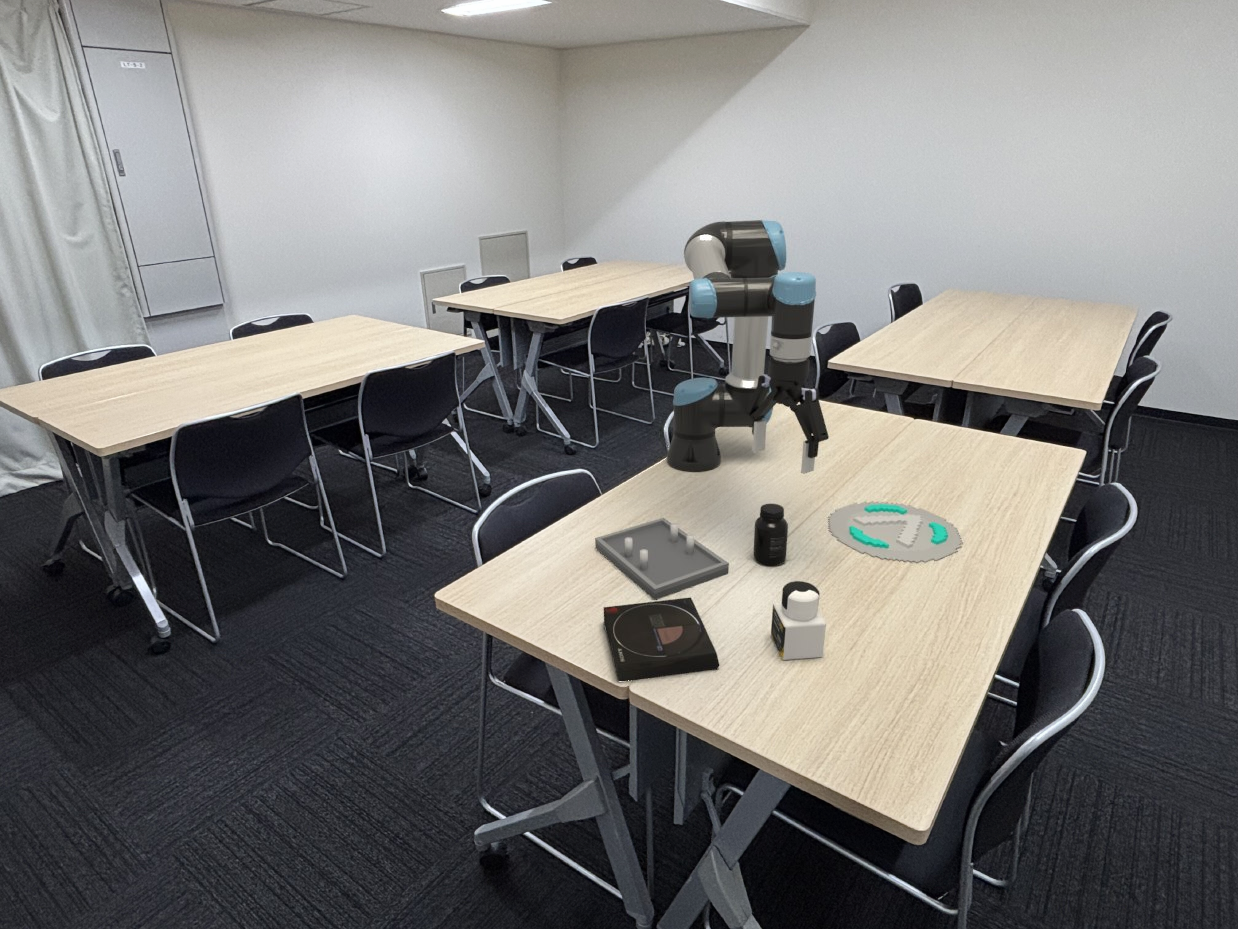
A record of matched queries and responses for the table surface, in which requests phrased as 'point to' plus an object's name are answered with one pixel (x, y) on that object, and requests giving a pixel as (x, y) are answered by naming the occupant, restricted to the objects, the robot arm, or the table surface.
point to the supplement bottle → (770, 535)
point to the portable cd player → (658, 639)
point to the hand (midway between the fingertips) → (782, 461)
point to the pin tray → (661, 557)
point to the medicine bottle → (798, 622)
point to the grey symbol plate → (894, 532)
